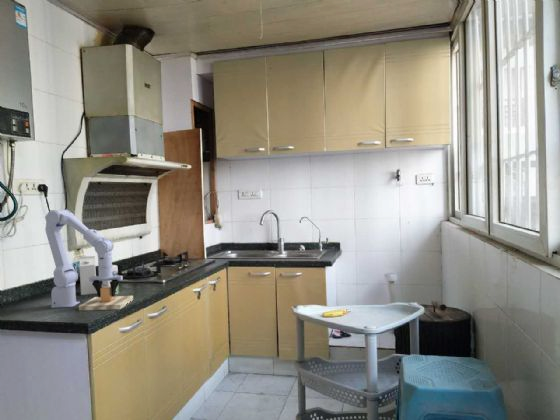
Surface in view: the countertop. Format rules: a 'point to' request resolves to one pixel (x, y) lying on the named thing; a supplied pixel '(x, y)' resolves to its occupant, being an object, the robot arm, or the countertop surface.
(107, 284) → the syrup box
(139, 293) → the countertop surface
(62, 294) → the robot arm
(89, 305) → the holder plate
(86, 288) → the milk carton
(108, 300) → the orange rectangular block
